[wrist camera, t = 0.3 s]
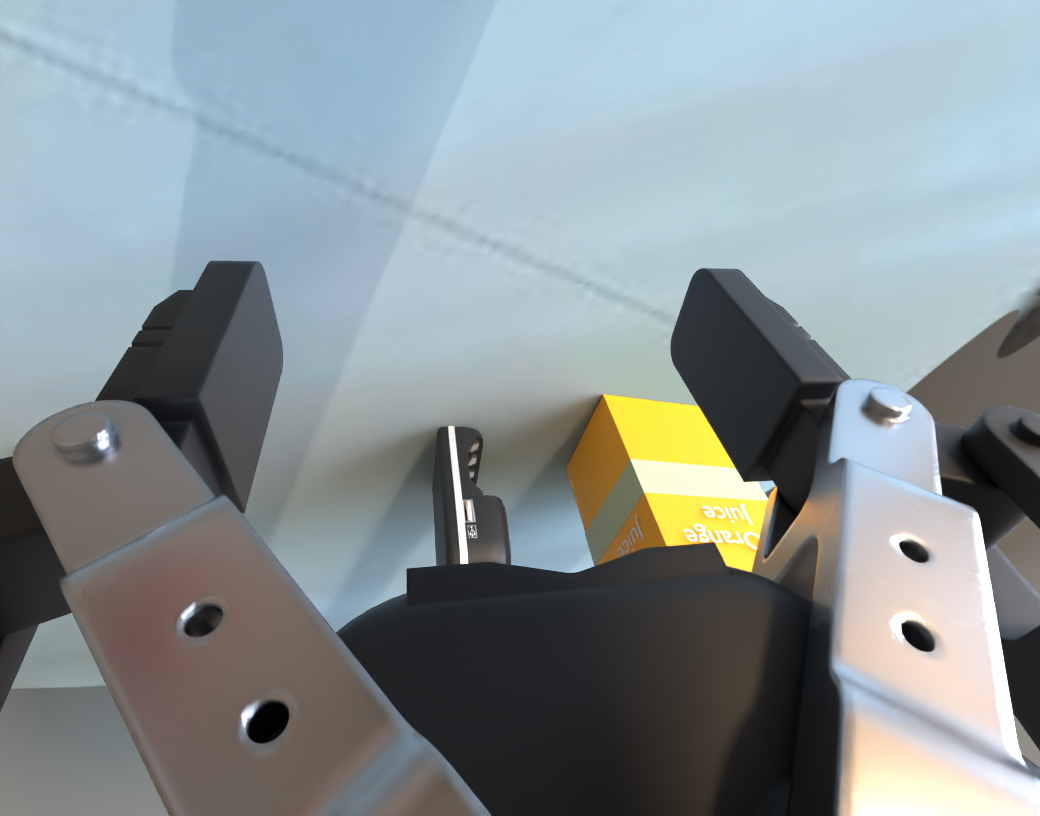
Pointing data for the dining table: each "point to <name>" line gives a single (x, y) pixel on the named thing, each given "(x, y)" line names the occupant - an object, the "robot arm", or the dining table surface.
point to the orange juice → (661, 483)
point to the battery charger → (465, 504)
